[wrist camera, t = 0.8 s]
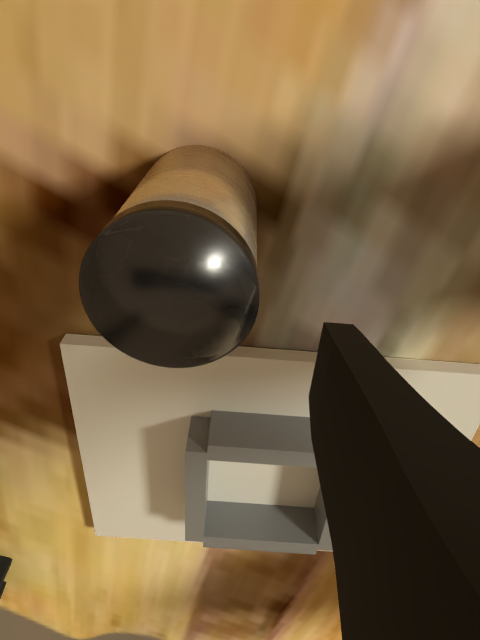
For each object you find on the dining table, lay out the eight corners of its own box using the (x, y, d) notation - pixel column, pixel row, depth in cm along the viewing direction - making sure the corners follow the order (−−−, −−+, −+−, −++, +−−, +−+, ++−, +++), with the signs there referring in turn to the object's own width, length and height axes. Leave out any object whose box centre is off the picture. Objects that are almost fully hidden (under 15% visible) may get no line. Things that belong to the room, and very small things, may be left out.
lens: (263, 148, 16) (268, 219, 10) (252, 263, 18) (251, 373, 12) (136, 138, 16) (67, 204, 10) (142, 255, 18) (90, 362, 12)
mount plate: (496, 365, 21) (529, 411, 18) (407, 544, 29) (422, 593, 26) (65, 333, 20) (39, 376, 18) (99, 523, 29) (84, 571, 26)
